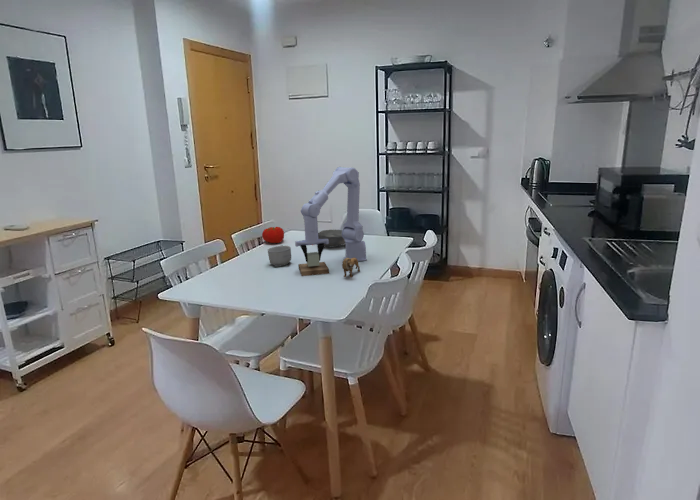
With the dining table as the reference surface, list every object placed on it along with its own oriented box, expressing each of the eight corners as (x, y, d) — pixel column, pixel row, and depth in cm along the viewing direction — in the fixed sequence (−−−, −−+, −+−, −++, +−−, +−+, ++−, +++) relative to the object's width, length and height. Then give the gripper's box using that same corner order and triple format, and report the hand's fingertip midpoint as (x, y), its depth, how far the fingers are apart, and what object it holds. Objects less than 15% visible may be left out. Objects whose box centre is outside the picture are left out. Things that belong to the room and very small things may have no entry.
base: (324, 265, 211) (324, 261, 211) (329, 273, 200) (329, 269, 200) (298, 268, 209) (298, 264, 209) (301, 276, 198) (301, 271, 197)
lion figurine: (352, 280, 190) (352, 259, 188) (340, 279, 192) (339, 258, 189) (361, 269, 204) (361, 250, 201) (350, 269, 205) (349, 249, 203)
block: (317, 262, 207) (317, 251, 206) (319, 265, 202) (318, 254, 201) (306, 263, 206) (306, 252, 205) (308, 266, 201) (307, 255, 200)
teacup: (287, 268, 210) (286, 251, 208) (265, 267, 213) (263, 250, 211) (296, 259, 224) (295, 243, 222) (275, 259, 226) (274, 243, 224)
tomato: (266, 239, 267) (265, 225, 265) (287, 239, 265) (286, 224, 263) (259, 245, 254) (257, 230, 252) (281, 245, 252) (279, 230, 250)
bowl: (356, 244, 249) (356, 230, 247) (338, 252, 235) (338, 236, 233) (329, 241, 259) (329, 227, 257) (310, 248, 244) (310, 233, 242)
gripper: (326, 227, 205) (327, 256, 209) (293, 230, 202) (295, 259, 206) (329, 230, 199) (330, 261, 202) (295, 233, 196) (297, 264, 199)
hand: (313, 260), depth 203 cm, fingers closed on block, 5 cm apart
